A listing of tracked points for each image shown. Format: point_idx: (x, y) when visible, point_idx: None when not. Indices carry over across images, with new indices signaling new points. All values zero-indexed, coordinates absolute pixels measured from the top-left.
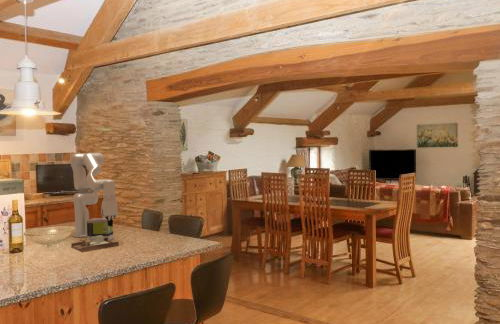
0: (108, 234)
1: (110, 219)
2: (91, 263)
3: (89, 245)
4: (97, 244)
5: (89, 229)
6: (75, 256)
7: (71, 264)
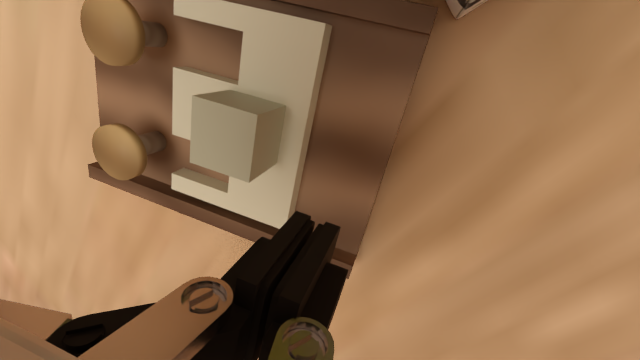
0: (473, 3)
1: (263, 350)
2: None
3: (150, 153)
4: (195, 193)
5: None
6: (66, 213)
7: (33, 294)
